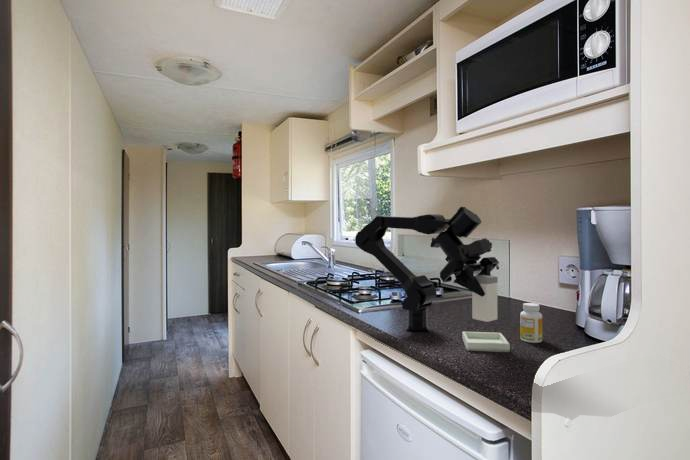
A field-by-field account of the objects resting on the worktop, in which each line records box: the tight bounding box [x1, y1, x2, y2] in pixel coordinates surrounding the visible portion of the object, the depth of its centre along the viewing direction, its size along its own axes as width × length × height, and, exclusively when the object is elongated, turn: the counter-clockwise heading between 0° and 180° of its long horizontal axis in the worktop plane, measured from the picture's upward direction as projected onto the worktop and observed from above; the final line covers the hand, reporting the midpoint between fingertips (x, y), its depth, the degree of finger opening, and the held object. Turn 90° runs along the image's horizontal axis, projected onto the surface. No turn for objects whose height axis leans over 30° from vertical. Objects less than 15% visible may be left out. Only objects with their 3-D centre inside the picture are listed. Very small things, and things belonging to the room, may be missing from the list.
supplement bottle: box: [519, 302, 543, 344], centre depth 108 cm, size 5×5×10 cm
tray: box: [461, 331, 511, 353], centre depth 104 cm, size 10×10×2 cm
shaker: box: [471, 275, 499, 323], centre depth 104 cm, size 4×4×11 cm
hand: (489, 294), depth 103 cm, fingers closed on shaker, 4 cm apart
